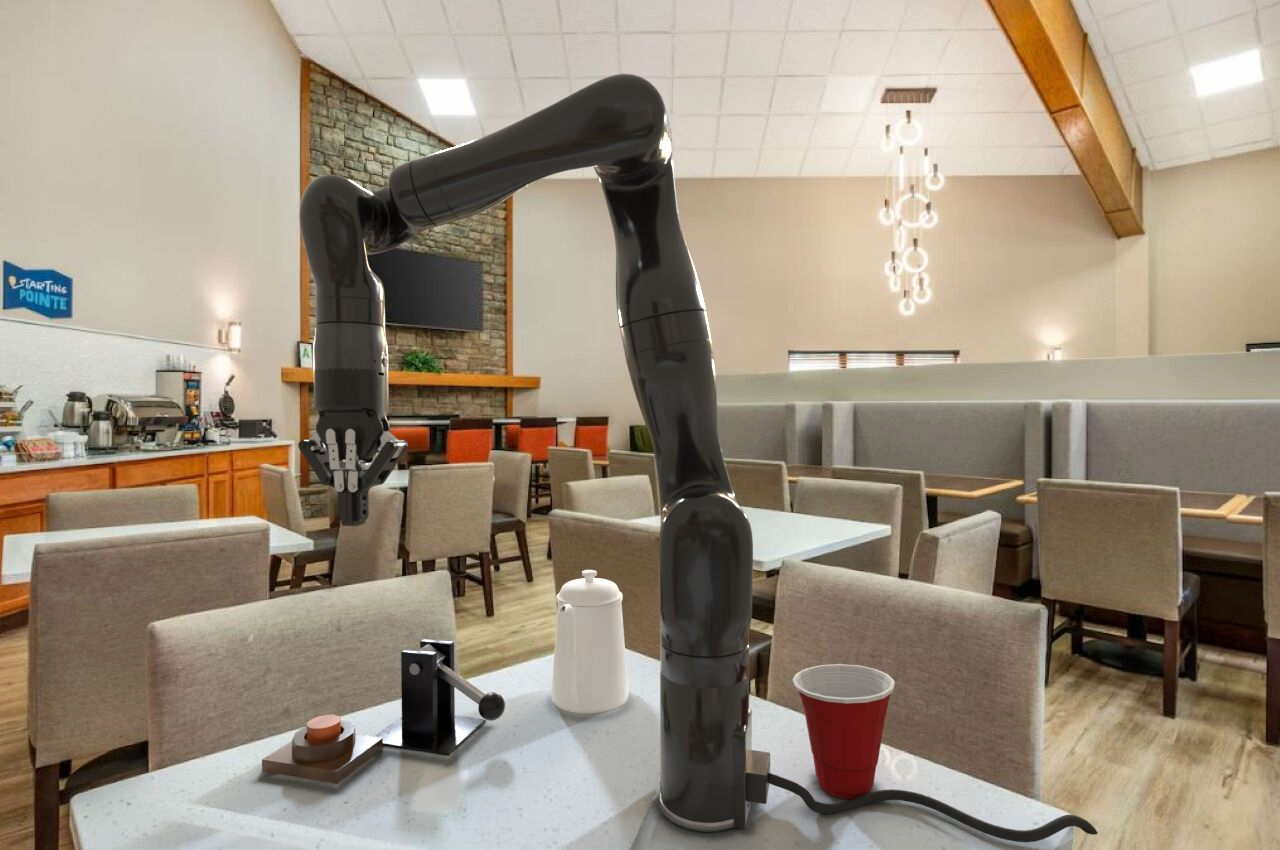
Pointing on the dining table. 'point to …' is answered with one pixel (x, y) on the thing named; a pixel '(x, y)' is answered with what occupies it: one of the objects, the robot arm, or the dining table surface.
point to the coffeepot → (589, 647)
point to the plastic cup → (844, 724)
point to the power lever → (470, 689)
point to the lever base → (428, 705)
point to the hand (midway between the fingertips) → (353, 524)
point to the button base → (323, 755)
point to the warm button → (323, 728)
